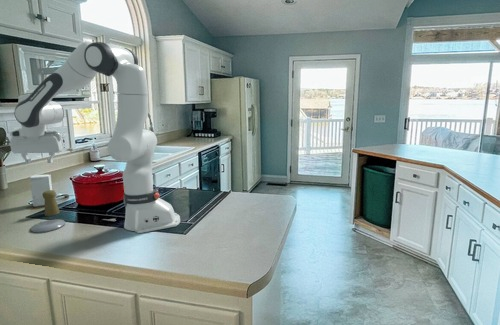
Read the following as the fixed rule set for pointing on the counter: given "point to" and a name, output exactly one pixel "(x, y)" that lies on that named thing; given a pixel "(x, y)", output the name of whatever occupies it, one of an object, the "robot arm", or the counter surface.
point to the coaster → (48, 226)
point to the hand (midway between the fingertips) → (39, 162)
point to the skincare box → (40, 188)
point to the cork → (50, 203)
